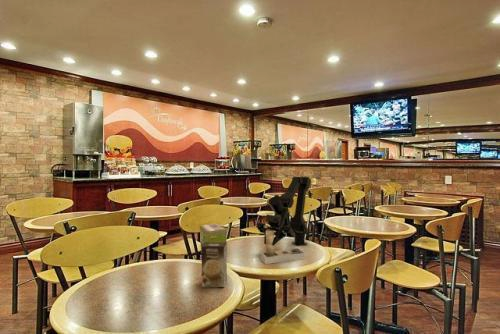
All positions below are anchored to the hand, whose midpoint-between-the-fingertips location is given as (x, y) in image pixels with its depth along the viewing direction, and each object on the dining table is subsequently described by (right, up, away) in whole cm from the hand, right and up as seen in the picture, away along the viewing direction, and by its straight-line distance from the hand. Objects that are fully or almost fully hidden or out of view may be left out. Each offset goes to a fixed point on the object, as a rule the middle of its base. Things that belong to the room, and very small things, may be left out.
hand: (268, 244), depth 140 cm
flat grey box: (+7, -8, +3) cm, 11 cm away
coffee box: (-23, -9, -25) cm, 35 cm away
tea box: (-28, -9, +12) cm, 32 cm away
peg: (+1, -7, +1) cm, 7 cm away
